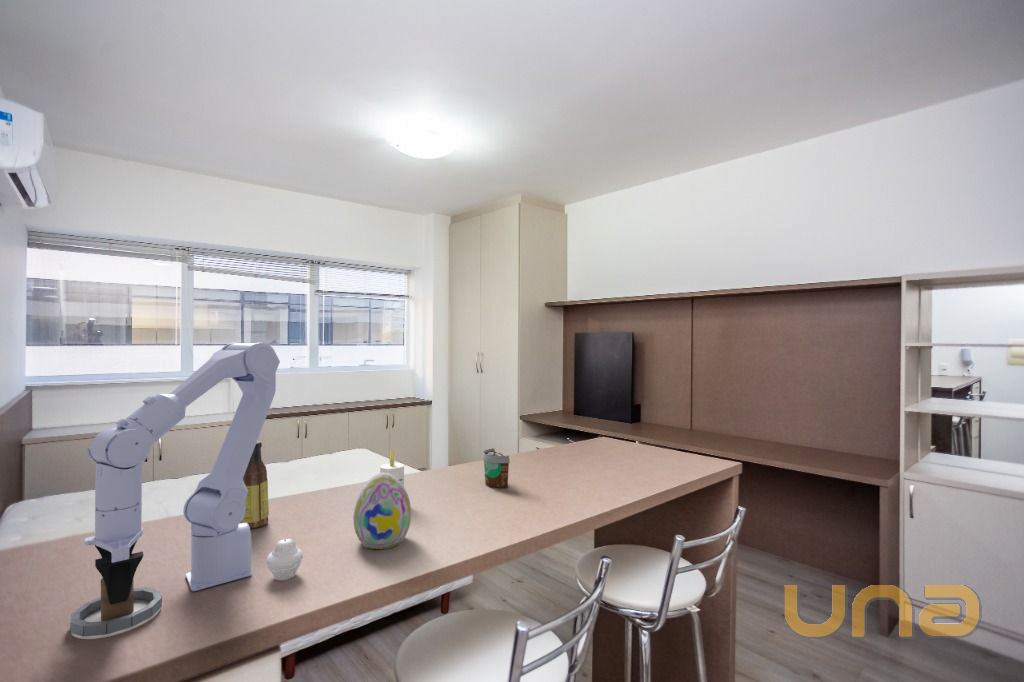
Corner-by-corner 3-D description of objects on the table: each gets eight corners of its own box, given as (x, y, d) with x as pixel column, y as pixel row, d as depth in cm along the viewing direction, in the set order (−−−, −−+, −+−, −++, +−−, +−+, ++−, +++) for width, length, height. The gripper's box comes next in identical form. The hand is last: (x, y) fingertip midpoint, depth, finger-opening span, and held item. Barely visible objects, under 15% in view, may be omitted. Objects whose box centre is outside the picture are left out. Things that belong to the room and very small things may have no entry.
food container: (475, 481, 153) (475, 449, 153) (493, 479, 156) (493, 447, 156) (490, 492, 142) (490, 457, 142) (509, 489, 145) (509, 455, 145)
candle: (390, 510, 126) (390, 452, 126) (374, 505, 130) (375, 449, 130) (409, 504, 131) (409, 448, 131) (393, 499, 135) (394, 445, 135)
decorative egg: (351, 556, 99) (352, 483, 99) (354, 534, 110) (354, 468, 110) (413, 550, 102) (413, 478, 102) (409, 528, 114) (409, 464, 114)
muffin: (308, 568, 93) (308, 532, 93) (294, 584, 87) (295, 545, 87) (275, 569, 93) (275, 532, 93) (259, 585, 87) (260, 545, 87)
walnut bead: (132, 604, 79) (132, 567, 79) (134, 614, 76) (134, 576, 76) (100, 614, 76) (100, 575, 76) (101, 625, 73) (101, 585, 73)
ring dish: (157, 592, 84) (157, 581, 84) (164, 620, 76) (164, 607, 76) (71, 616, 77) (71, 603, 77) (69, 649, 68) (69, 634, 68)
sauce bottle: (261, 518, 120) (262, 438, 120) (273, 524, 116) (273, 441, 116) (233, 526, 115) (233, 442, 115) (244, 532, 111) (245, 445, 111)
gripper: (85, 499, 79) (84, 582, 79) (84, 524, 68) (83, 621, 68) (139, 490, 84) (139, 569, 84) (147, 513, 73) (146, 603, 73)
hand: (118, 591), depth 76 cm, fingers open, 7 cm apart
